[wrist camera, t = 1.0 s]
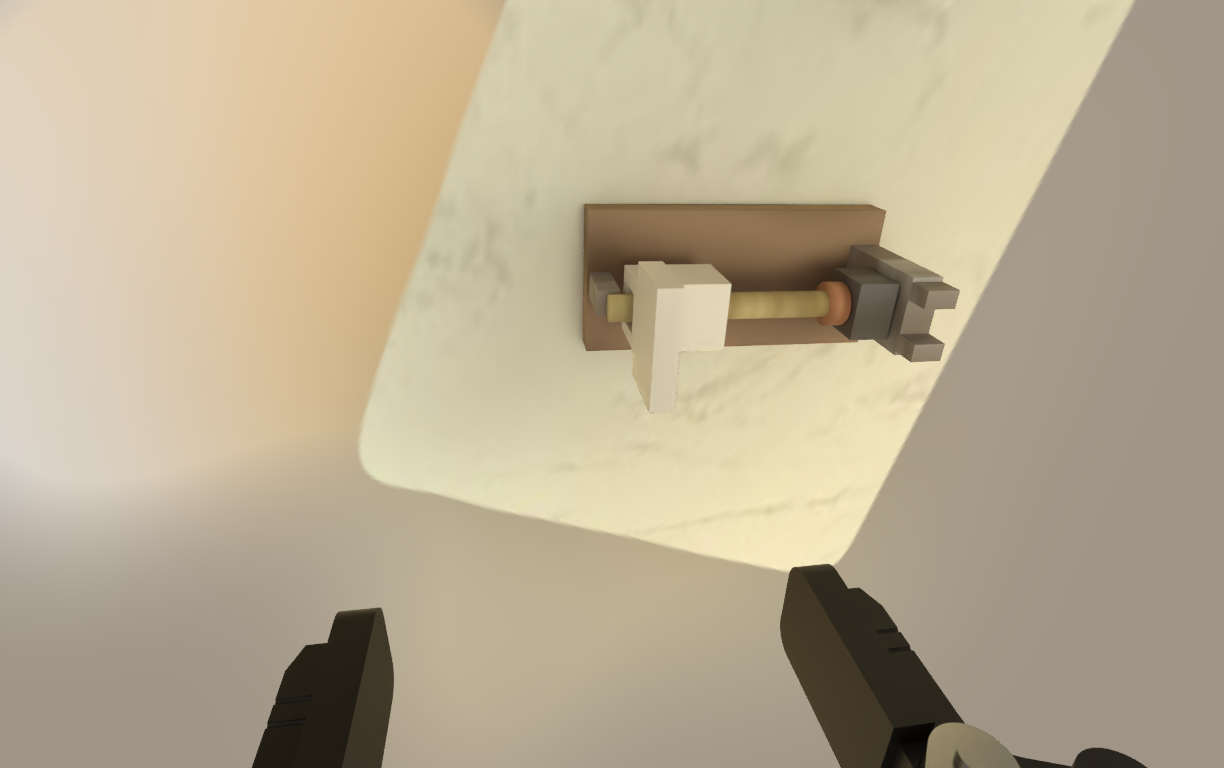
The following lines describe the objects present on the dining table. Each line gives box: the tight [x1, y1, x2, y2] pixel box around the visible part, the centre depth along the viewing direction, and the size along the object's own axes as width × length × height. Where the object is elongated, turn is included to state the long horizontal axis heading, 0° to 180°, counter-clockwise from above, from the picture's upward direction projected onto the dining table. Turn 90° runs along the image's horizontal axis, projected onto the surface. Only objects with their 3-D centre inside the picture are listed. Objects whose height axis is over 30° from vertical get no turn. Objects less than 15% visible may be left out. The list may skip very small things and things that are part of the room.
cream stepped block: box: [622, 261, 731, 413], centre depth 27 cm, size 5×4×6 cm
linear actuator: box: [583, 204, 960, 362], centre depth 30 cm, size 7×15×8 cm, turn 89°
